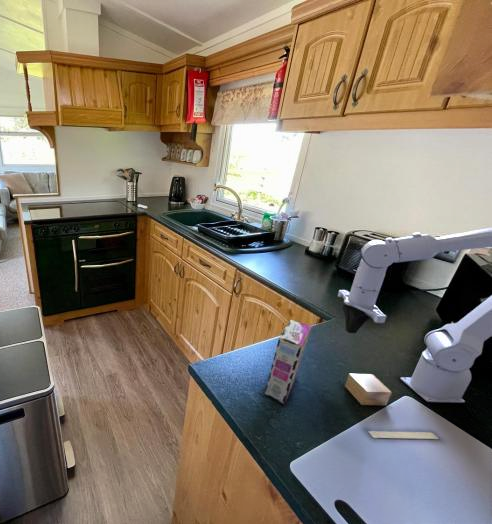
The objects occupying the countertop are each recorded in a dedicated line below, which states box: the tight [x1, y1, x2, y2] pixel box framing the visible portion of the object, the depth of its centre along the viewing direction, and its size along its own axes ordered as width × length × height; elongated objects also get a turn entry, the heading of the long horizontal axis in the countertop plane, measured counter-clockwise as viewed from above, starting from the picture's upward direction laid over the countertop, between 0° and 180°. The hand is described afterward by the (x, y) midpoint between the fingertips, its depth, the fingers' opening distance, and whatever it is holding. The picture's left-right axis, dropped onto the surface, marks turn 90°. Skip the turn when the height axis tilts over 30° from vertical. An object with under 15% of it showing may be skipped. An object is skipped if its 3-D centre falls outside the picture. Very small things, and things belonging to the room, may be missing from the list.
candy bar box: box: [264, 319, 312, 405], centre depth 70 cm, size 11×5×16 cm, turn 141°
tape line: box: [367, 430, 439, 440], centre depth 61 cm, size 14×2×1 cm, turn 91°
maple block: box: [344, 373, 393, 406], centre depth 70 cm, size 6×6×4 cm
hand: (350, 331), depth 79 cm, fingers closed
